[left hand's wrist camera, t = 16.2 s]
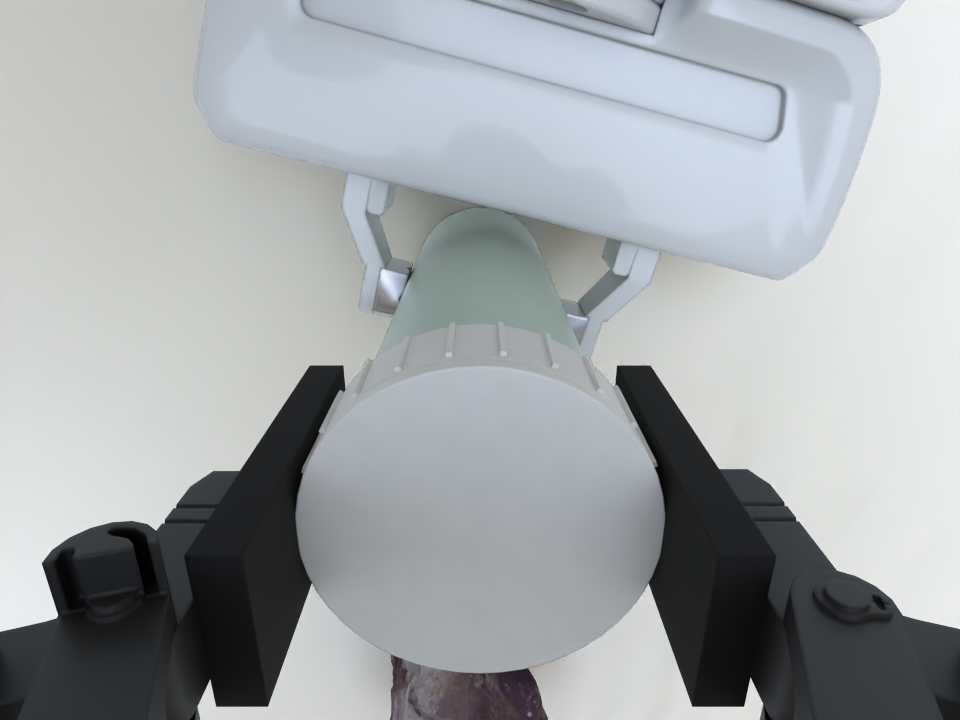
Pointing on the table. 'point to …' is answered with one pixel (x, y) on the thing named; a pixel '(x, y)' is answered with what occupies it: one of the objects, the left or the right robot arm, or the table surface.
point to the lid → (480, 501)
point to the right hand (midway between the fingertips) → (475, 333)
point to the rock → (462, 694)
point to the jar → (480, 281)
